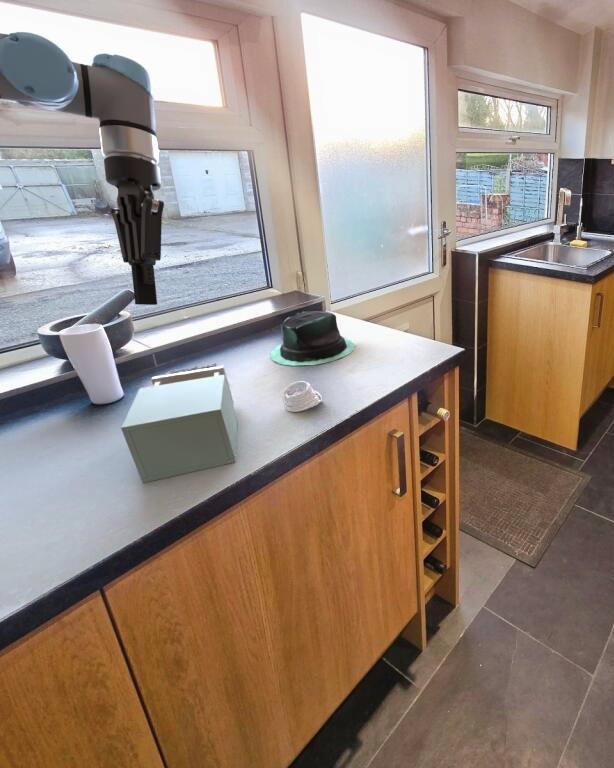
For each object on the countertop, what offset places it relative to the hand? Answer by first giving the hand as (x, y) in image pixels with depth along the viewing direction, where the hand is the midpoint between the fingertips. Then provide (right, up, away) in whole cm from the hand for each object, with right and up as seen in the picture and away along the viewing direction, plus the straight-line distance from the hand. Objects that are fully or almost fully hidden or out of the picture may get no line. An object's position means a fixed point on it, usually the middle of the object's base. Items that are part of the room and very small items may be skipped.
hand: (146, 304), depth 85 cm
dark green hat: (+13, -5, +39) cm, 42 cm away
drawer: (+5, -20, +6) cm, 22 cm away
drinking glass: (-19, -17, +15) cm, 30 cm away
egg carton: (-5, -15, +20) cm, 25 cm away
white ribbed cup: (+22, -18, +12) cm, 31 cm away
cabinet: (+10, -25, -2) cm, 27 cm away
